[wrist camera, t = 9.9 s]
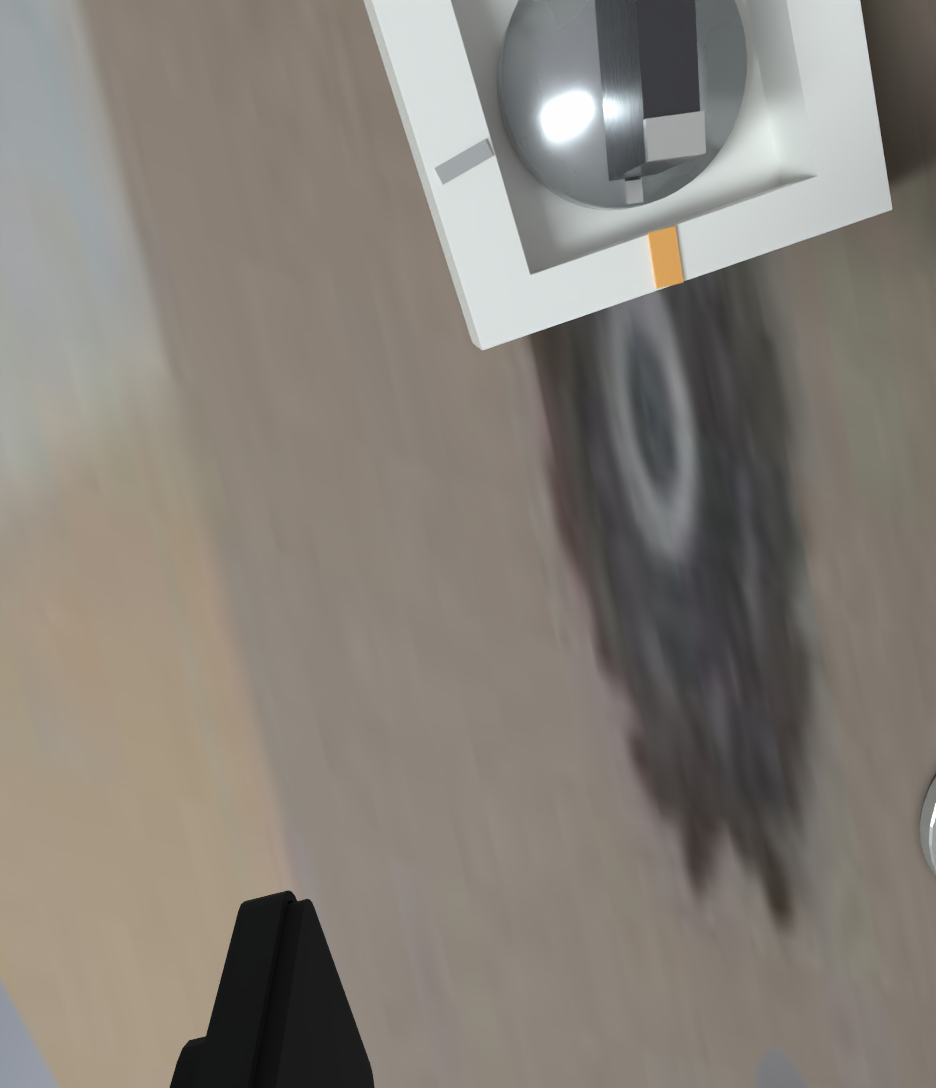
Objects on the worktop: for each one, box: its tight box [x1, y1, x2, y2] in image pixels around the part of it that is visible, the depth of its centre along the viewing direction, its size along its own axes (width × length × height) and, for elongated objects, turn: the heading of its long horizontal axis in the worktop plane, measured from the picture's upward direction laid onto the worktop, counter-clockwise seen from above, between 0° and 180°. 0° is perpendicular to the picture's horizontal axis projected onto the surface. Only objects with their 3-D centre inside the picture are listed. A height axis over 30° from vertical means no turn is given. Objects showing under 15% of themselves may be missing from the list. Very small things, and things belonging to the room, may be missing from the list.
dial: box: [497, 0, 747, 211], centre depth 28 cm, size 9×9×7 cm
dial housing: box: [363, 0, 892, 350], centre depth 31 cm, size 15×16×5 cm
